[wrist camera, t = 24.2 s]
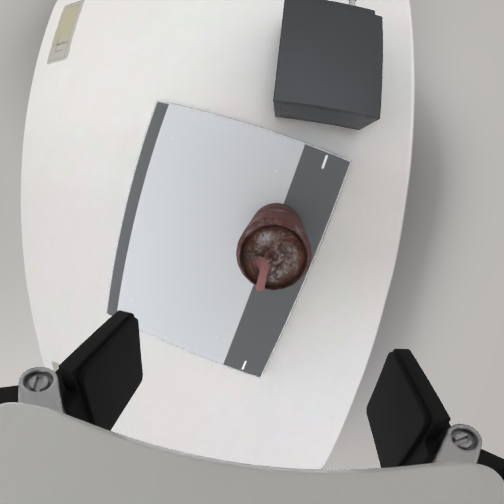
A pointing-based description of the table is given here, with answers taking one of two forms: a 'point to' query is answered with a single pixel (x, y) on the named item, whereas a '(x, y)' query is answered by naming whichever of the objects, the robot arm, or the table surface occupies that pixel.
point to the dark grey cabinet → (329, 65)
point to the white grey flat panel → (214, 231)
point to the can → (274, 248)
